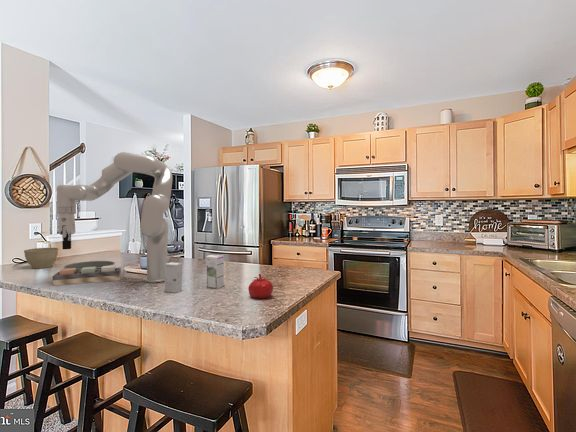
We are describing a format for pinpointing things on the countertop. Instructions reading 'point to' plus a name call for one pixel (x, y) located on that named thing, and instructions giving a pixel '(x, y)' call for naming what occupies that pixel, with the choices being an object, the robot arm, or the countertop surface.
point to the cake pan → (89, 264)
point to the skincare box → (173, 277)
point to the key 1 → (68, 271)
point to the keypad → (86, 277)
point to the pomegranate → (260, 288)
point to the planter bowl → (41, 257)
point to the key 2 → (108, 268)
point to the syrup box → (215, 271)
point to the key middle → (88, 269)
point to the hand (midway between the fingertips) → (66, 248)
